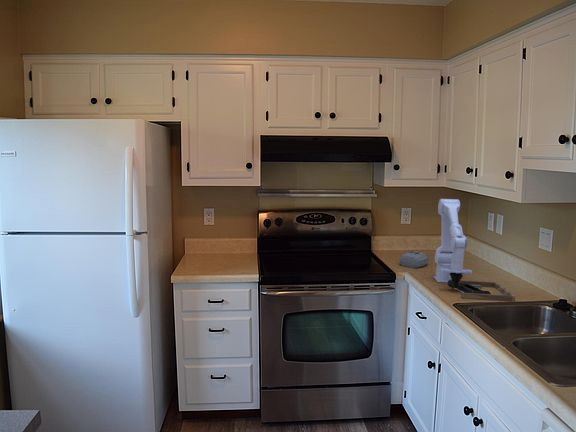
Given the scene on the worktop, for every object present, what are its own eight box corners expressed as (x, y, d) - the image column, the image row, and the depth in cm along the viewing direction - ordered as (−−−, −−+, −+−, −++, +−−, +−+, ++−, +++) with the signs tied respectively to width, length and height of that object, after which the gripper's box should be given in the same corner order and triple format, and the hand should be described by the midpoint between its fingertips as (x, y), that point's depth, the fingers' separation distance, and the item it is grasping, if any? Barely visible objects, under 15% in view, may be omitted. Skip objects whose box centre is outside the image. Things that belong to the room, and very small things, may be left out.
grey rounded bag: (418, 270, 260) (433, 264, 275) (419, 256, 258) (434, 251, 273) (395, 265, 270) (410, 260, 284) (396, 251, 268) (411, 247, 283)
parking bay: (448, 284, 232) (448, 279, 231) (496, 286, 229) (496, 282, 229) (461, 298, 208) (461, 293, 208) (514, 301, 206) (515, 296, 206)
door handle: (472, 280, 233) (445, 279, 229) (499, 291, 214) (470, 291, 210) (471, 286, 234) (444, 285, 229) (497, 298, 214) (469, 298, 210)
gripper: (444, 262, 215) (441, 289, 217) (474, 263, 213) (472, 290, 215) (440, 258, 222) (438, 285, 223) (470, 260, 220) (467, 286, 222)
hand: (454, 287), depth 220 cm, fingers closed
